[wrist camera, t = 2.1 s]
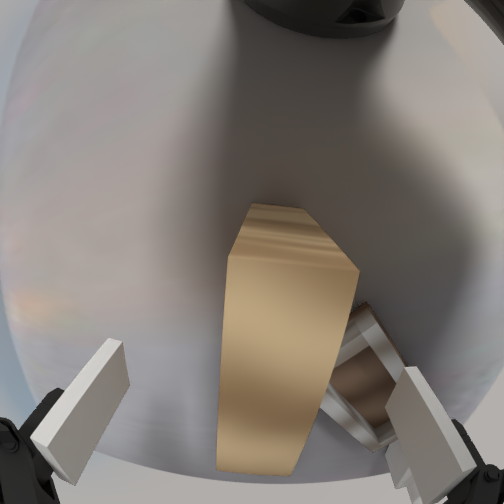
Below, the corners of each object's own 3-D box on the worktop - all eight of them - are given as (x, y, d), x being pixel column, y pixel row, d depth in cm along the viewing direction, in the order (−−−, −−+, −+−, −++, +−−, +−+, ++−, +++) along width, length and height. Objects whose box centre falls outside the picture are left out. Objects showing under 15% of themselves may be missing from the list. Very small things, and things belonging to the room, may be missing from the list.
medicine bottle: (438, 414, 28) (470, 475, 17) (424, 442, 30) (447, 499, 19) (395, 427, 29) (420, 497, 17) (383, 454, 31) (402, 516, 19)
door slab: (252, 202, 22) (228, 257, 8) (303, 208, 22) (360, 271, 8) (238, 337, 25) (216, 470, 12) (282, 341, 25) (290, 475, 12)
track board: (285, 356, 25) (287, 380, 22) (366, 301, 24) (379, 320, 20) (365, 434, 29) (371, 453, 25) (425, 396, 27) (435, 415, 24)
